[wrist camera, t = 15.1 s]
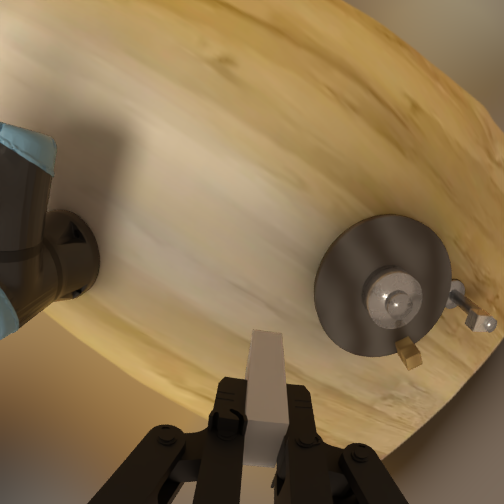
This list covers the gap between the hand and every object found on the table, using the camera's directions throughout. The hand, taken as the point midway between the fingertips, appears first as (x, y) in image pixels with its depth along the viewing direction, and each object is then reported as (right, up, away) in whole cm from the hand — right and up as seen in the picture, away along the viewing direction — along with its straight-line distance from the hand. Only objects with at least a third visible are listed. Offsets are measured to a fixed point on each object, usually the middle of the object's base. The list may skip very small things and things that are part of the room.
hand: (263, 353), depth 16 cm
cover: (+19, 0, +27) cm, 33 cm away
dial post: (+33, -2, +30) cm, 45 cm away
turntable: (+19, 0, +29) cm, 35 cm away
